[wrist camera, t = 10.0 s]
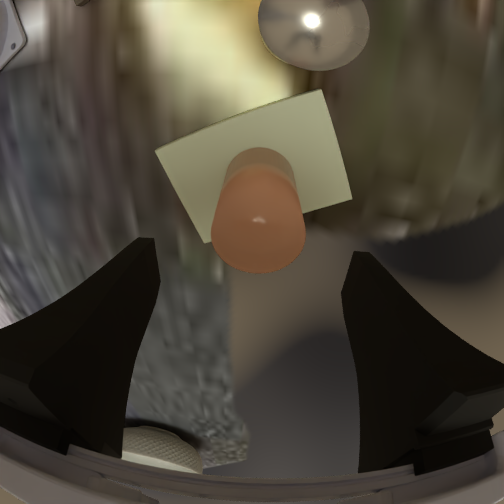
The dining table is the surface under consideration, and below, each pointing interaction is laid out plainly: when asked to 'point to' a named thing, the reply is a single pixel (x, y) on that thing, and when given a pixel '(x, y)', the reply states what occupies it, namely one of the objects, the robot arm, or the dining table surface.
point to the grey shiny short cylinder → (314, 31)
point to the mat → (267, 136)
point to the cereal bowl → (159, 449)
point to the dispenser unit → (80, 2)
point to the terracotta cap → (258, 213)
